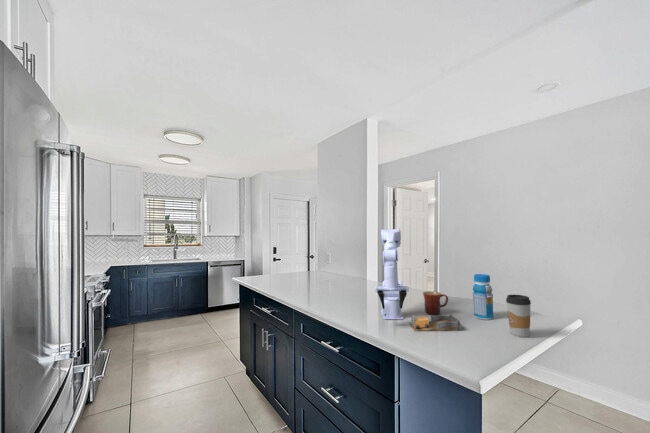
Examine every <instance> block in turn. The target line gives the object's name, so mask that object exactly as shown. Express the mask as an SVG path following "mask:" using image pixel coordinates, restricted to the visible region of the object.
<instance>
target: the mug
mask: <svg viewBox="0 0 650 433" xmlns="http://www.w3.org/2000/svg"><path fill="white" fill-rule="evenodd" d="M422 295H423V297H424V298H423V299H424V312H425V314H426V315H429V316H440V314H441V310H442V309H441V308H444V307H446V306H447V305H448V303H449V297H448V295H446V294H444V293H441V292H438V291H432V290H431V291H423V292H422ZM442 297H445V301H444V303H443V304H441V298H442Z"/></svg>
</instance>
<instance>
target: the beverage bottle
mask: <svg viewBox="0 0 650 433" xmlns="http://www.w3.org/2000/svg"><path fill="white" fill-rule="evenodd" d="M473 281H474V284H473V287H472V290H473V293H472V300H473V316H474V318H476V319H477V320H478V319H479V320H485V321H486V320H488V321H490V320H493V319H494V317H495V316H494V294H493V293H492V292H493V288H492V286H491V285H490V283H491V276H490V275H489V274H482V273H477V274H476V273H475V274H474V275H473Z"/></svg>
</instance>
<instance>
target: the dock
mask: <svg viewBox="0 0 650 433" xmlns="http://www.w3.org/2000/svg"><path fill="white" fill-rule="evenodd" d="M428 322H429V327H423V328H418V329H417V328H414V326H413V325H412V322H411V323H408V325H409V326H410V328H411V329H412V330H413V332H415V333H416V332H460V331H461V321H460V320H458V318H456V317H455V316H453V315H452V314H449V315H430V320H428Z"/></svg>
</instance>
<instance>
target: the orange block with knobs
mask: <svg viewBox="0 0 650 433" xmlns="http://www.w3.org/2000/svg"><path fill="white" fill-rule="evenodd" d="M410 318H411V323H412V325H413V326H414V328H417V329H418V328H423V327H429V322H428V321H429V319H428V318H427V317H426V316H425V315H423V316H415V315H414V314H413V313H412V314H411V313H410Z"/></svg>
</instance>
